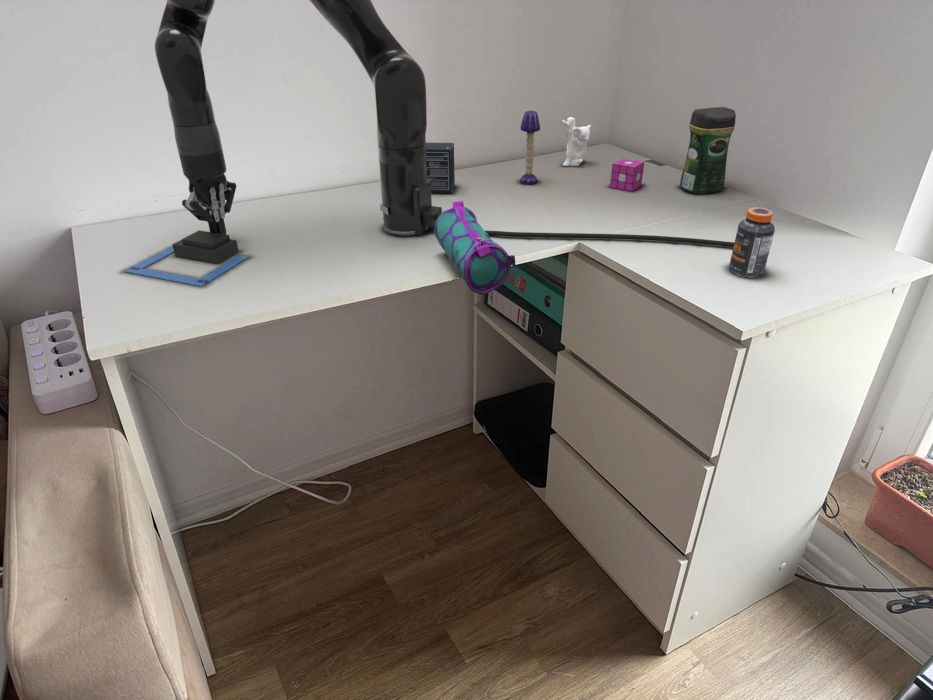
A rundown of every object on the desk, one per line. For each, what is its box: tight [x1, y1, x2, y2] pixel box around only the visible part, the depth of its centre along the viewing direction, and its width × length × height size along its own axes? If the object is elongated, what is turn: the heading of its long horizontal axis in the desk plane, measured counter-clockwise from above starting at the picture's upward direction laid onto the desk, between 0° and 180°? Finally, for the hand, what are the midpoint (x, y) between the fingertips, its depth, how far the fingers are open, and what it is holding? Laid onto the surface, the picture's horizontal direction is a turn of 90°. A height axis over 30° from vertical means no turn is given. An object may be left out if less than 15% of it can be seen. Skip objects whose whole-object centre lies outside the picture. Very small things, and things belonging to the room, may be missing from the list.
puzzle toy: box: [609, 157, 645, 192], centre depth 158 cm, size 6×6×6 cm
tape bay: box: [124, 245, 249, 287], centre depth 122 cm, size 17×13×1 cm
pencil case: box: [433, 200, 517, 296], centre depth 116 cm, size 21×9×10 cm, turn 17°
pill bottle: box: [728, 206, 776, 278], centre depth 115 cm, size 6×6×11 cm
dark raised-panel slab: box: [171, 230, 240, 265], centre depth 125 cm, size 10×6×4 cm, turn 69°
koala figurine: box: [561, 116, 593, 167], centre depth 172 cm, size 8×7×12 cm
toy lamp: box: [519, 110, 541, 185], centre depth 158 cm, size 5×5×17 cm
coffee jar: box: [679, 106, 737, 194], centre depth 153 cm, size 10×8×19 cm
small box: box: [426, 141, 456, 194], centre depth 155 cm, size 11×6×10 cm, turn 84°
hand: (219, 238), depth 128 cm, fingers closed
